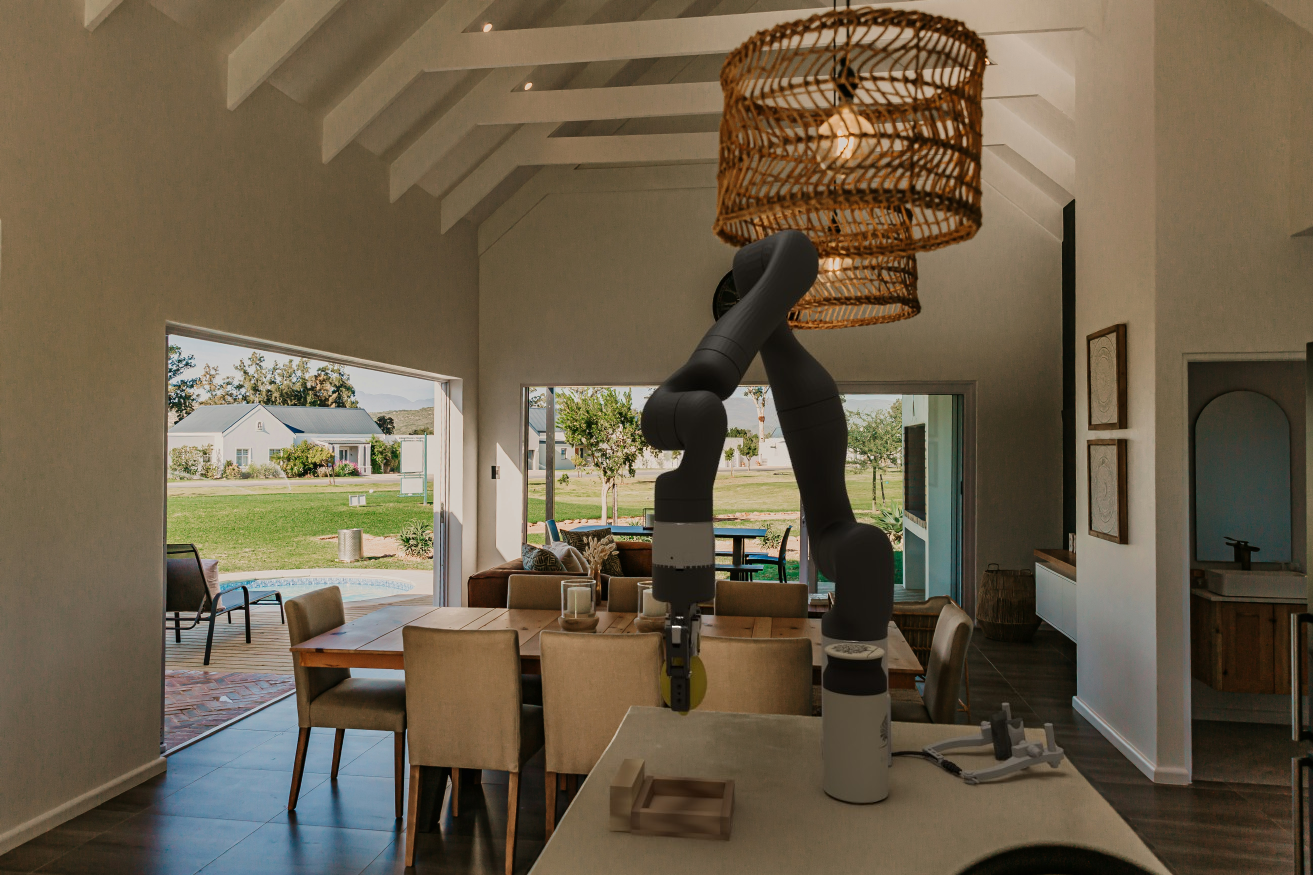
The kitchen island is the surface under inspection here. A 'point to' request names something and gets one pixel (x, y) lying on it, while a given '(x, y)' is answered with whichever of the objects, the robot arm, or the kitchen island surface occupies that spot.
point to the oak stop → (625, 793)
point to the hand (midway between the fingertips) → (683, 702)
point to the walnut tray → (684, 808)
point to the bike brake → (997, 748)
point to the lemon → (696, 683)
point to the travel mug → (855, 723)
